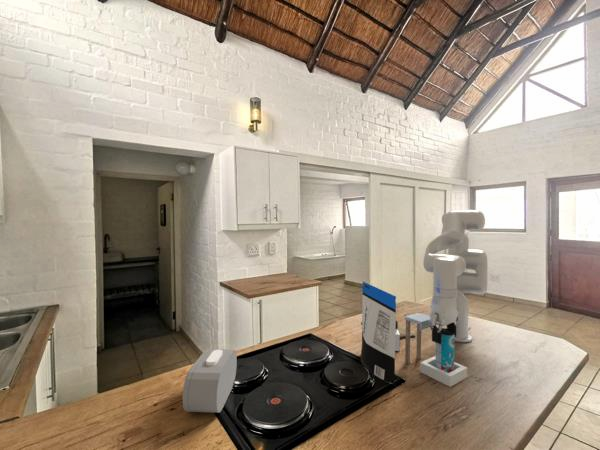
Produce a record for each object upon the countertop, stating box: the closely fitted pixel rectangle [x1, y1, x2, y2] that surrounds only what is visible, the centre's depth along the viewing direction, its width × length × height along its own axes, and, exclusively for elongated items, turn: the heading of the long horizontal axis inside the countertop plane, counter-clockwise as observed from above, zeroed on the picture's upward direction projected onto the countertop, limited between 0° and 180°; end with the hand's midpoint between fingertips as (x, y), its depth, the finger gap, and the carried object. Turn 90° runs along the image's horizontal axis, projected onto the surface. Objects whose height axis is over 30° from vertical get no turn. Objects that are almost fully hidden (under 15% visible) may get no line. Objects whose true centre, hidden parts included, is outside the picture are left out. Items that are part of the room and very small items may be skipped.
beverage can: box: [435, 327, 455, 373], centre depth 101 cm, size 6×6×15 cm
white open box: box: [404, 312, 468, 388], centre depth 103 cm, size 11×18×18 cm, turn 33°
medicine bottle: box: [395, 320, 401, 352], centre depth 122 cm, size 7×7×12 cm
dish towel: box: [361, 321, 416, 340], centre depth 142 cm, size 17×23×2 cm
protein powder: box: [360, 281, 397, 387], centre depth 104 cm, size 10×24×30 cm, turn 13°
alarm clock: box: [181, 348, 238, 414], centre depth 84 cm, size 21×10×13 cm, turn 178°
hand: (444, 338), depth 101 cm, fingers open, 9 cm apart
